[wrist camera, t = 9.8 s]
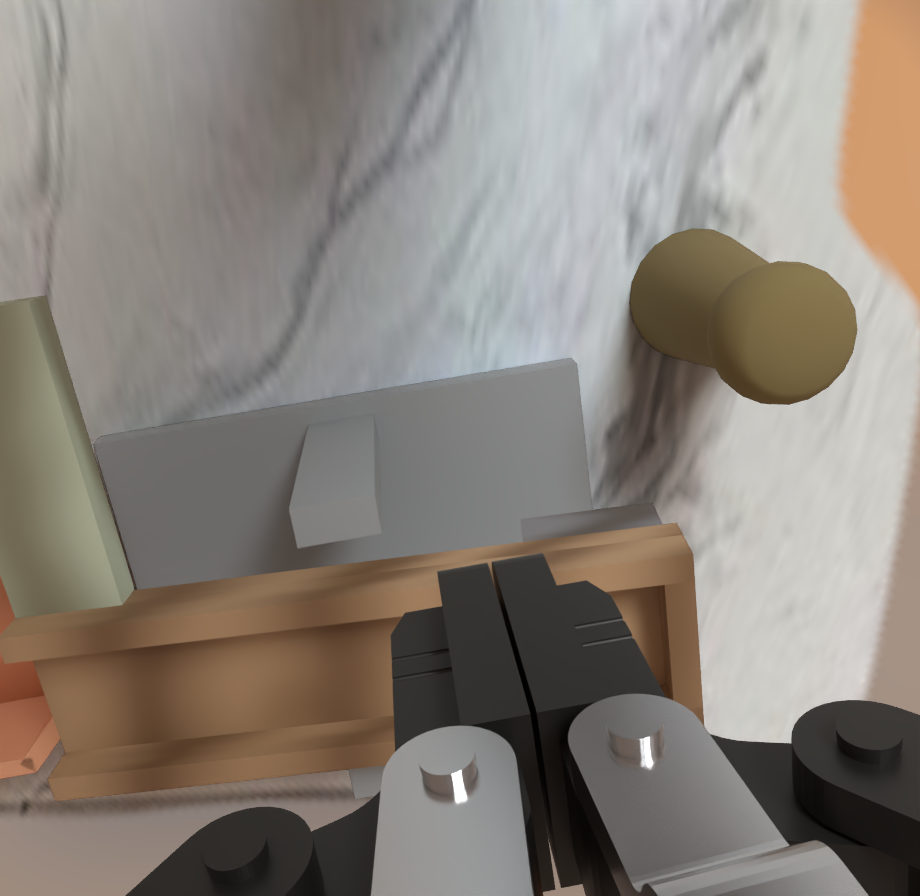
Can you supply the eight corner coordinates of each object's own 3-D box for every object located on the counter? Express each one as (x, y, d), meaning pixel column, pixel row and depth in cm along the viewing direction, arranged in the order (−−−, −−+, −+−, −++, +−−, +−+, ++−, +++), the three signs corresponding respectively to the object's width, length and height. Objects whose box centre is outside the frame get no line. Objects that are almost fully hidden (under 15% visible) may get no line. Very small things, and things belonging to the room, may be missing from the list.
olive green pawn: (681, 384, 42) (781, 460, 32) (603, 291, 40) (683, 339, 30) (781, 298, 41) (918, 347, 31) (706, 199, 40) (825, 216, 29)
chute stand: (571, 357, 41) (640, 428, 31) (599, 617, 46) (667, 756, 35) (101, 436, 40) (5, 536, 30) (177, 693, 45) (118, 859, 34)
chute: (643, 201, 30) (671, 212, 25) (677, 659, 35) (704, 730, 31) (-38, 302, 31) (-120, 328, 27) (103, 725, 37) (55, 801, 33)
